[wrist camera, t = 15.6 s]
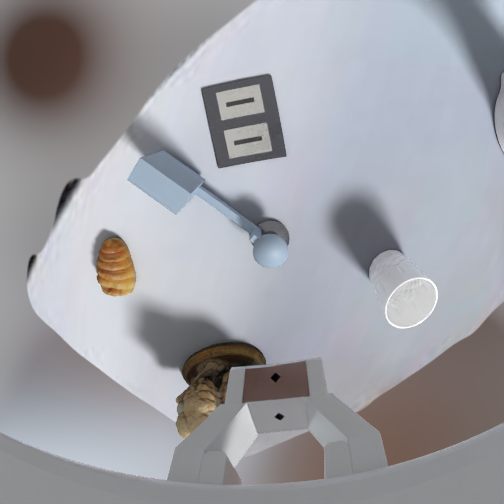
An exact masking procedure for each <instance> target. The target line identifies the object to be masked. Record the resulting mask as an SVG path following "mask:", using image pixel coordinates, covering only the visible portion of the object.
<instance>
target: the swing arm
mask: <svg viewBox="0 0 504 504" xmlns="http://www.w3.org/2000/svg"><path fill="white" fill-rule="evenodd" d="M127 180H128V181H130V182H131V183H132V184H134V185H135V186H137V187H138V188H139V189H141V190H142V191H143V192H145V193H146V194H148V195H149V196H150V197H152V198H153V199H155V200H156V201H157V202H159V203H160V204H162V205H163V206H164V207H166V208H167V209H168V210H170V211H171V212H173V213H174V214H175V215H177V214H178V213H179V211H180V210H181V209H182V208H183V207H184V206H185V205H186V204H187V203H188V202H189V201H190V200H191V199H192V198H193V197H194V195H195V194H196V195H198V196H199V197H200V198H202V199H203V200H205V201H206V202H207V203H209V204H210V205H212V206H213V207H214V208H216V209H217V210H219V211H220V212H221V213H223V214H224V215H226V216H227V217H228V218H230V219H231V220H232V221H234V222H235V223H237V224H238V225H239V226H241V227H242V228H243V229H245V230H246V231H248V232H249V233H250V239H249V241H250V242H252V243H253V244H254V248H253V255H254V258H255V260H256V262H257V263H258V264H260V265H261V266H263V267H266V268H275V267H278V266H280V265H282V264H283V263H284V262H285V261H286V259H287V256H288V246H287V243H286V242H285V240H284V239H283V238H282V237H280V236H278V235H276V234H266V235H263V236H261V229H260V228H259V227H257V226H256V225H255V224H253V223H252V222H251V221H249V220H248V219H247V218H245V217H244V216H243V215H241V214H240V213H238V212H237V211H236V210H234V209H233V208H232V207H230V206H229V205H227V204H226V203H225V202H223V201H222V200H220V199H219V198H218V197H216V196H215V195H214V194H212V193H211V192H209V191H208V190H207V189H205V188H204V187H202V186H201V185H202V184H203V182H204V181H205V179H204V178H202V177H201V176H200V175H198V174H197V173H195V172H194V171H193V170H191V169H190V168H188V167H187V166H186V165H184V164H183V163H181V162H180V161H178V160H177V159H176V158H174V157H173V156H171V155H170V154H168V153H167V152H166V151H164V150H162V151H159V152H156V153H153V154H150V155H147V156H144V157H141V158H140V159H139V160H138V162H137V164H136V165H135V167H134V169H133V171H132V172H131V174H130V176H129V178H128V179H127Z"/></svg>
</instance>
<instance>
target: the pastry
mask: <svg viewBox="0 0 504 504" xmlns="http://www.w3.org/2000/svg"><path fill="white" fill-rule="evenodd" d="M97 273H98V275H97V280H98V283H99V284H101V287H102V290H103V292H104V293H105V294H107V295H111V296H124V295H127V294H129V293H131V292H132V291H133V289H134V285H135V282H136V275H135V269H134V265H133V261H132V259H131V255H130V252H129V249H128V247H127V246H126V244H125V243H124V241H123V240H121V239H119V238H110V239H107V240H105V241H104V242H103V243H102V247H101V250H100V251H99V257H98V260H97Z"/></svg>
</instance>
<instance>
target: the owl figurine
mask: <svg viewBox="0 0 504 504" xmlns="http://www.w3.org/2000/svg"><path fill="white" fill-rule="evenodd" d="M254 365H266V360H265V357H264V356H263V354H262V353H261V352H260V351H259V350H258V349H257V348H255V347H253V346H251V345H249V344H245V343H231V342H230V343H221V344H216V345H212V346H209V347H206V348H204V349H202V350H200V351H198V352H196V353H194V354H193V355H192V356H191V357H190V358H188V360H187V361H186V362H185V364H184V366H183V370H182V375H183V378H184V380H185V381H186V383H188V385H190V386H189V387H188V388H187V390H185V391H184V392H183V393H182V394H181V395H179V396H178V397H177V398H176V402H177V403H178V406H177V412H178V415H179V416H178V418H177V422H176V426H177V429H178V432H179V434H180V435H181V436H182V437H183V438H185V439H186V438H187V437H188V436H189V435H190V434H191V433H192V432H193V431H194V430H195V429H196V428H197V427H198V426H199V425H200V424H201V423H202V422H203V421H204V420H205V419H206V418H207V417H208V416H209V415H210V414H211V413H212V412H213V411H214V410H215V409H216V408H217V407H218V406H219V405H220V404H225V399H226V393H227V386H228V380H229V373H230V370H231V368H232V367H245V366H254ZM207 379H208V380H207Z"/></svg>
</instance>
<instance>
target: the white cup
mask: <svg viewBox="0 0 504 504" xmlns="http://www.w3.org/2000/svg"><path fill="white" fill-rule="evenodd" d="M369 278H370V280H371V282H372V284H373V287H374V291H375V293H376V296H377V298H378V301H379V303H380V305H381V307H382V309H383V312H384V314H385V316H386V319H387V321H388V322H389V323H390V324H391V325H393V326H394V327H397V328H410V327H413V326H416V325H418V324H419V323H421V322H422V321H424V320H425V319H426V318H427V317H428V316H429V315H430V314H431V312H432V311H433V309H434V308H435V305H436V303H437V298H438V291H437V288H436V285H435V284H434V283H433V282H432V281H431V280H430V279H429V278H428V276H427V275H426V274H425V273H424V272H423V271H422V270H421V269H420V268H419V267H417V266H416V265H415V264H414V263H413V262H412V261H411V260H410V259H408V258H407V257H406V256H405V255H404V254H402V253H401V252H399V251H398V250H387V251H385V252H382V253H380V254H379V255H378V256H377V257H376V258H375V259H374V260H373V261H372V264H371V266H370V268H369Z"/></svg>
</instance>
